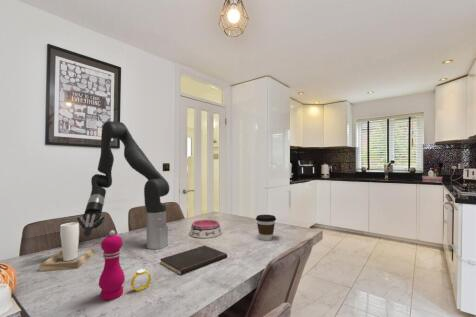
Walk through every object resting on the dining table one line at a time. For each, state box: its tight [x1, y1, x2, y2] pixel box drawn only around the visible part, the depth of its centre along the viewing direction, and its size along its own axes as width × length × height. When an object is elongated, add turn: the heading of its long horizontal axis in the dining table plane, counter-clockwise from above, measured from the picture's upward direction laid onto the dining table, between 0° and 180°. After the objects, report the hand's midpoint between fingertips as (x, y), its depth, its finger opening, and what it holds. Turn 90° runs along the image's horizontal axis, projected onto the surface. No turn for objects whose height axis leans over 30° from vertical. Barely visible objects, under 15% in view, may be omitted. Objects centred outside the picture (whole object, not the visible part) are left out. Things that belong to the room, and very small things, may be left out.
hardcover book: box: [159, 245, 228, 276], centre depth 103 cm, size 16×23×2 cm
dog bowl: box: [189, 219, 223, 240], centre depth 142 cm, size 18×19×7 cm
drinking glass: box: [59, 221, 80, 262], centre depth 106 cm, size 7×7×15 cm
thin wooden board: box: [38, 247, 96, 272], centre depth 103 cm, size 17×13×2 cm
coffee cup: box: [255, 214, 277, 242], centre depth 131 cm, size 11×11×12 cm
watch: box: [130, 268, 152, 292], centre depth 80 cm, size 6×3×6 cm, turn 130°
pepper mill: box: [98, 229, 126, 301], centre depth 76 cm, size 7×7×20 cm
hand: (86, 235), depth 118 cm, fingers closed
